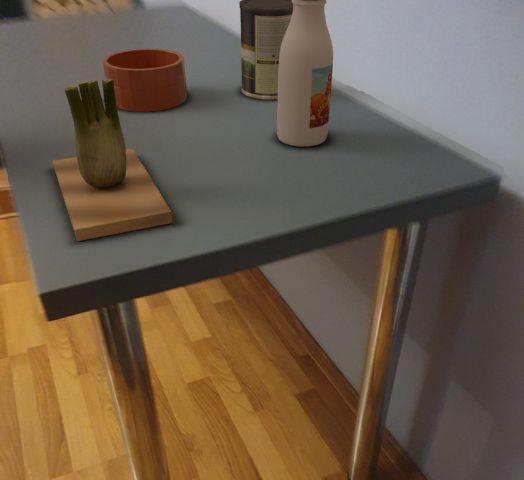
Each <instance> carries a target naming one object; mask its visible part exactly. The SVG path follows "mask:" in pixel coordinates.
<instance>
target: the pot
mask: <svg viewBox="0 0 524 480" xmlns="http://www.w3.org/2000/svg"><path fill="white" fill-rule="evenodd" d="M102 67H103V73H104V78H105V79H104V80H106V79H113V81H114V90H115V98H116V105H117V109H119V110H122V111H126V112H127V111H128V112H135V113H137V112H139V113H148V112H149V113H150V112H160V111H165V110H169V109H173V108H176V107H179V106H180V105H182V104H184V103H186V101H187V98H188V87H187V77H186V65H185V57H184V56H183V54H181V53H180V52H178V51H174V50H171V49H170V50H169V49H164V48H132V49H126V50H120V51H116V52H112V53H109V54H108V55H106V56H104V58H103V59H102Z"/></svg>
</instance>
